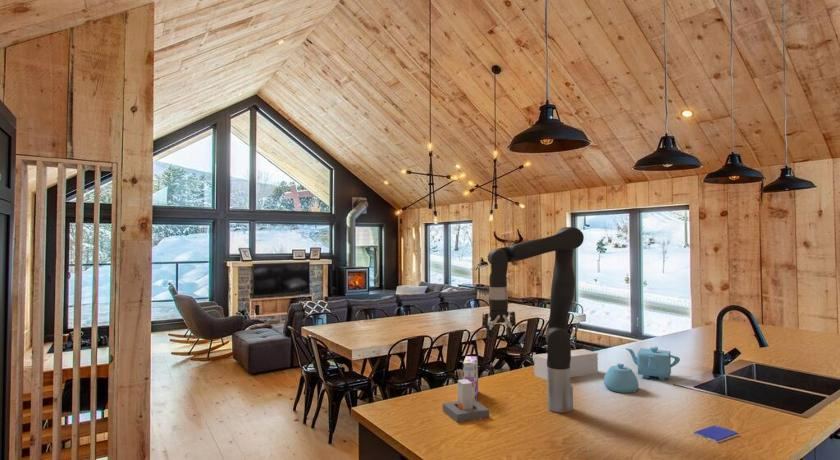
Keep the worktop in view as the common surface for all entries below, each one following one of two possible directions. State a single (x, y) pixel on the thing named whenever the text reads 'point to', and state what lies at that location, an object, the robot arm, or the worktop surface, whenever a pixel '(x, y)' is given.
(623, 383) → the sugar bowl
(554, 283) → the robot arm
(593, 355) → the white rectangular block
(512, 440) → the worktop surface
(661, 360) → the teakettle
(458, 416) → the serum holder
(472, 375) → the candy box
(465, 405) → the skincare box
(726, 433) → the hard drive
